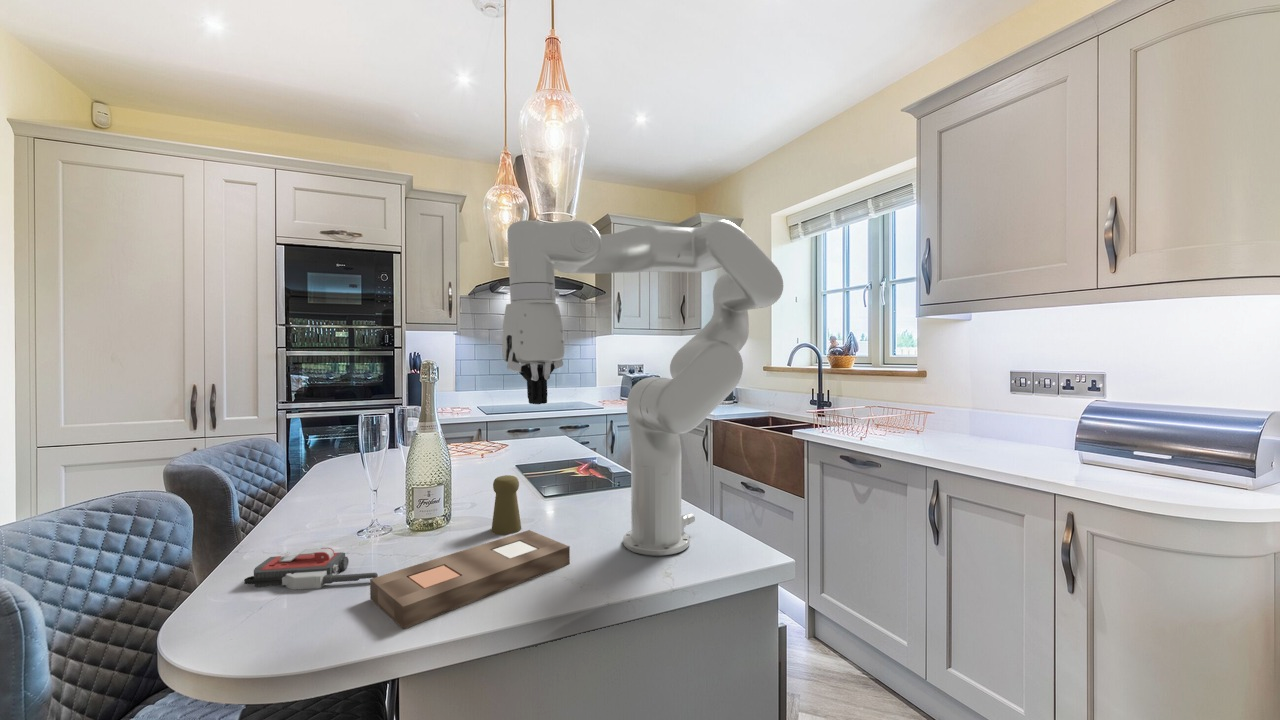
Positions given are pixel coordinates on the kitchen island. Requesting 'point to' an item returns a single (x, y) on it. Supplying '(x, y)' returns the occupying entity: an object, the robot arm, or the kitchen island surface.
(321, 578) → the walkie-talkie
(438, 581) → the terracotta key
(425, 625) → the kitchen island surface
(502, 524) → the cork
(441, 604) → the block
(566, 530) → the kitchen island surface
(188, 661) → the kitchen island surface
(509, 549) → the off-white key
